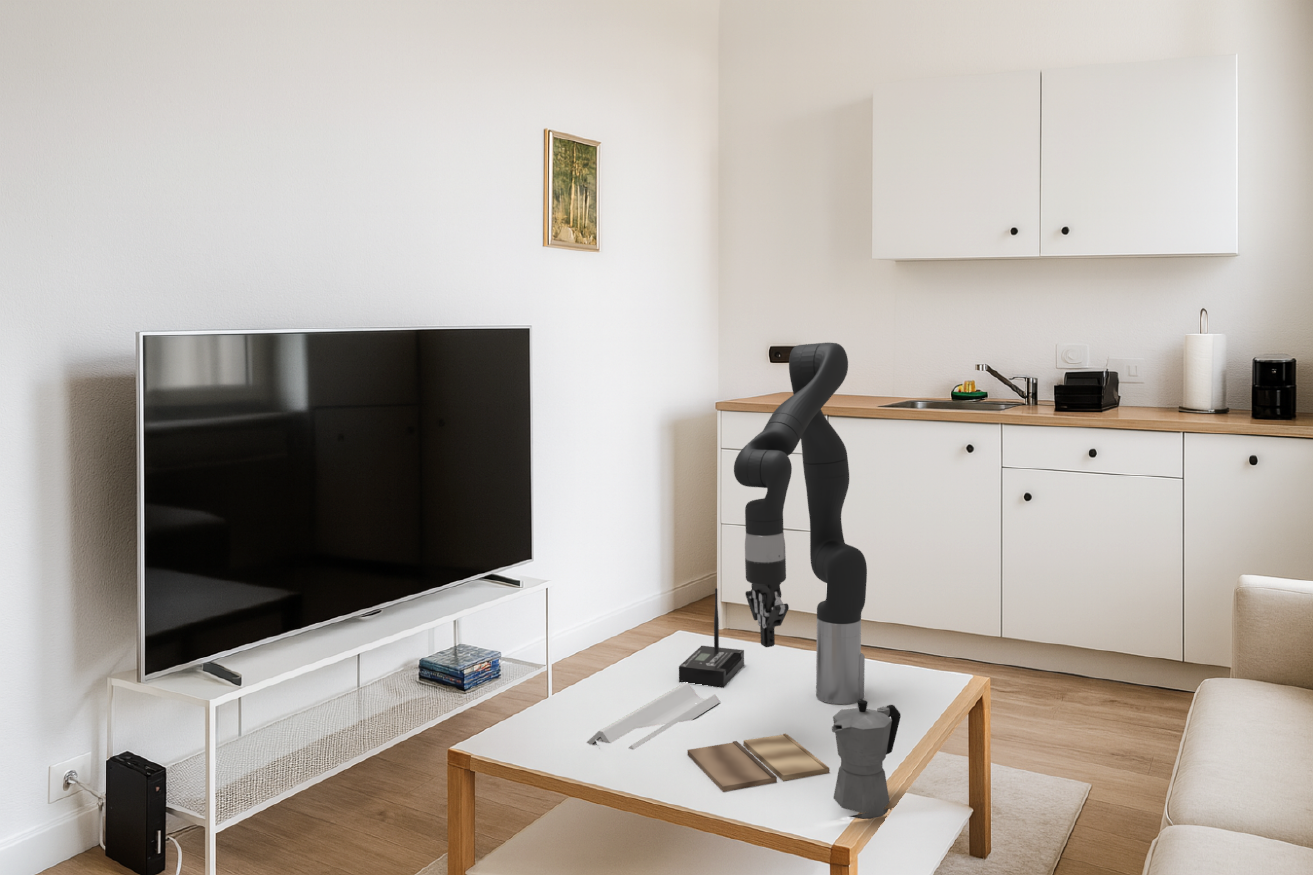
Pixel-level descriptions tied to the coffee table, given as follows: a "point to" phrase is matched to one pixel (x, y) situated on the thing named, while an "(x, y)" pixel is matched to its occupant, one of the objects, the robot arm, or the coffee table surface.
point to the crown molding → (658, 714)
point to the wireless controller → (712, 662)
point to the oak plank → (785, 757)
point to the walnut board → (731, 766)
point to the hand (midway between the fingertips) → (767, 645)
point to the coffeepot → (864, 757)
